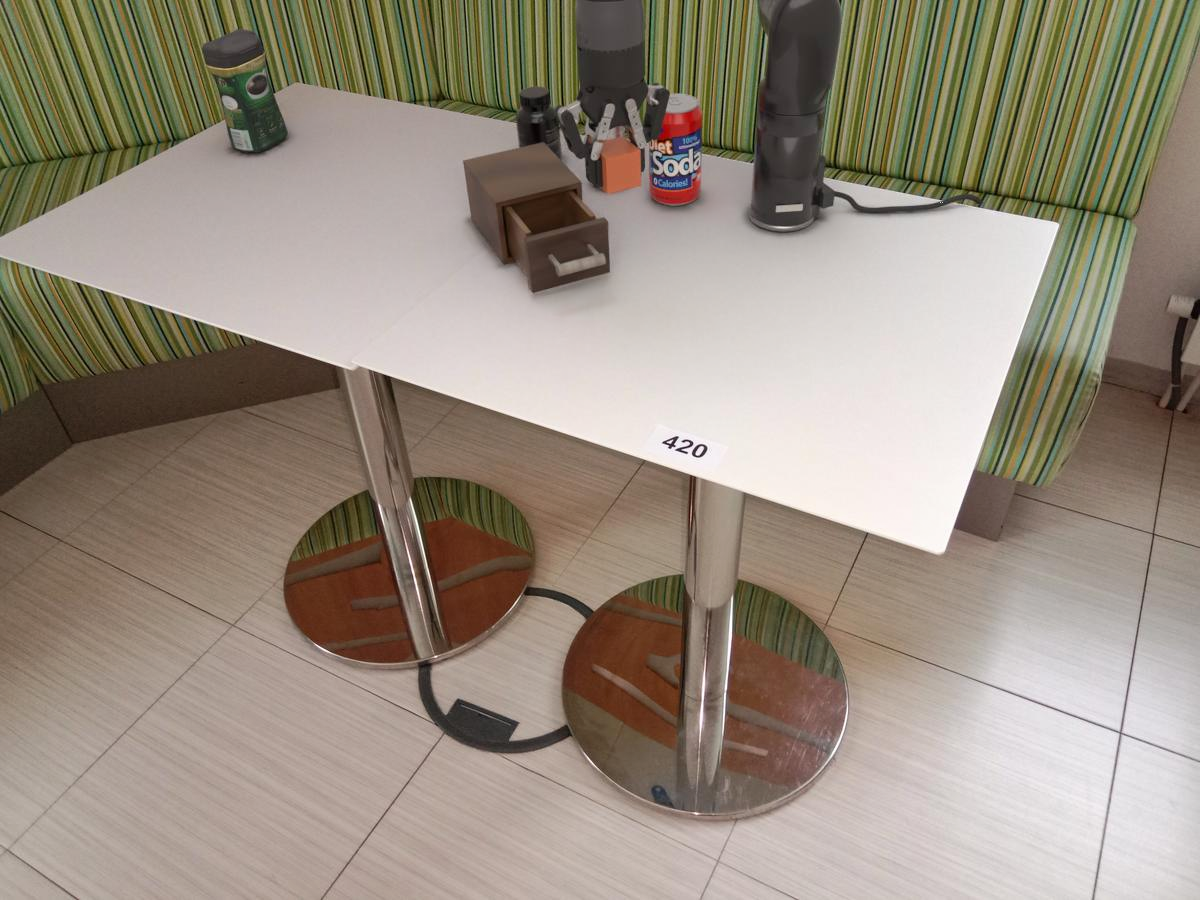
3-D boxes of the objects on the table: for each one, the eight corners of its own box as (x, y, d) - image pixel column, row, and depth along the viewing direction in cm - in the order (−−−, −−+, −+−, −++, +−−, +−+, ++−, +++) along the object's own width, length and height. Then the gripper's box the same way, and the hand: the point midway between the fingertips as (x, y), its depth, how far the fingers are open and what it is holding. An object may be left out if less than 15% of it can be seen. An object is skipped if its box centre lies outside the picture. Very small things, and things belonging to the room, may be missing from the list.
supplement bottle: (555, 151, 163) (549, 80, 155) (567, 168, 158) (562, 95, 150) (516, 158, 162) (508, 87, 154) (526, 176, 157) (519, 103, 149)
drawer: (624, 288, 129) (622, 236, 124) (544, 310, 126) (539, 258, 121) (572, 228, 142) (569, 179, 136) (499, 247, 138) (492, 197, 133)
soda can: (691, 182, 153) (693, 87, 143) (707, 205, 147) (710, 108, 137) (643, 189, 151) (642, 95, 141) (657, 213, 146) (657, 116, 136)
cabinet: (585, 243, 140) (581, 181, 134) (503, 264, 137) (495, 202, 130) (548, 201, 150) (543, 141, 144) (471, 220, 147) (462, 160, 140)
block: (624, 170, 119) (623, 135, 116) (641, 185, 116) (640, 150, 113) (591, 179, 118) (589, 144, 115) (607, 194, 115) (605, 158, 112)
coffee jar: (264, 128, 176) (233, 22, 163) (296, 136, 172) (267, 28, 160) (224, 149, 170) (189, 41, 157) (256, 158, 166) (223, 48, 154)
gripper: (652, 13, 110) (654, 155, 122) (536, 37, 106) (549, 182, 117) (684, 32, 105) (682, 179, 116) (564, 58, 101) (574, 208, 112)
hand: (615, 179), depth 117 cm, fingers closed on block, 4 cm apart
